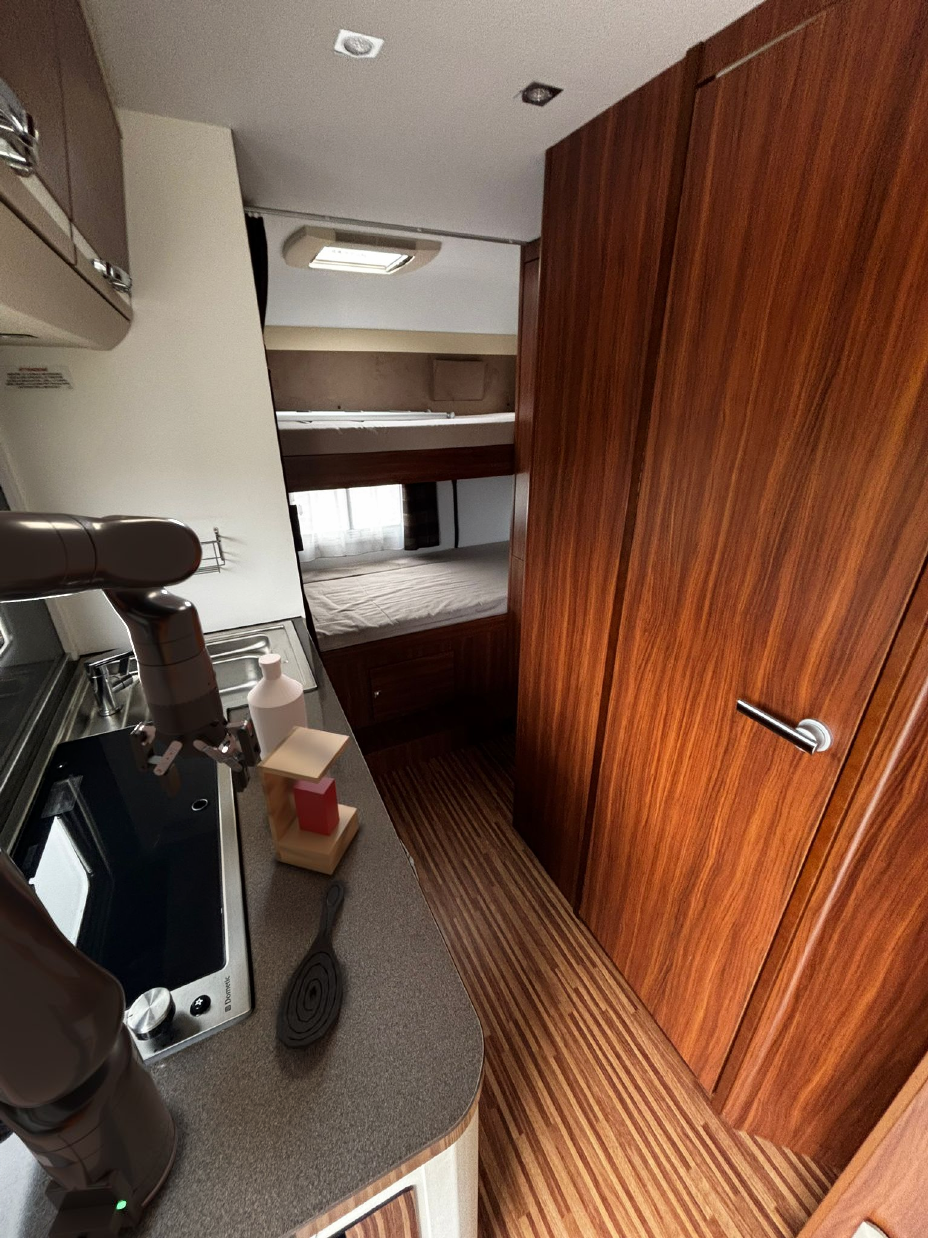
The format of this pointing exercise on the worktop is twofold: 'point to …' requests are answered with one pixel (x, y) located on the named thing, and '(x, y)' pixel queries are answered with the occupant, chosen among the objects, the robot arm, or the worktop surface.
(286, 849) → the shelf unit
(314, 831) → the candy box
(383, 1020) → the worktop surface
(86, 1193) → the robot arm
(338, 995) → the hairbrush
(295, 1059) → the worktop surface
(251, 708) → the bottle
